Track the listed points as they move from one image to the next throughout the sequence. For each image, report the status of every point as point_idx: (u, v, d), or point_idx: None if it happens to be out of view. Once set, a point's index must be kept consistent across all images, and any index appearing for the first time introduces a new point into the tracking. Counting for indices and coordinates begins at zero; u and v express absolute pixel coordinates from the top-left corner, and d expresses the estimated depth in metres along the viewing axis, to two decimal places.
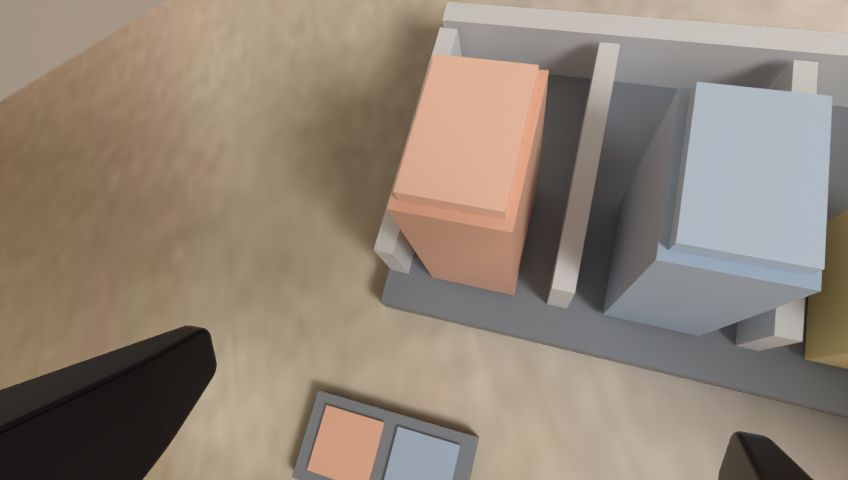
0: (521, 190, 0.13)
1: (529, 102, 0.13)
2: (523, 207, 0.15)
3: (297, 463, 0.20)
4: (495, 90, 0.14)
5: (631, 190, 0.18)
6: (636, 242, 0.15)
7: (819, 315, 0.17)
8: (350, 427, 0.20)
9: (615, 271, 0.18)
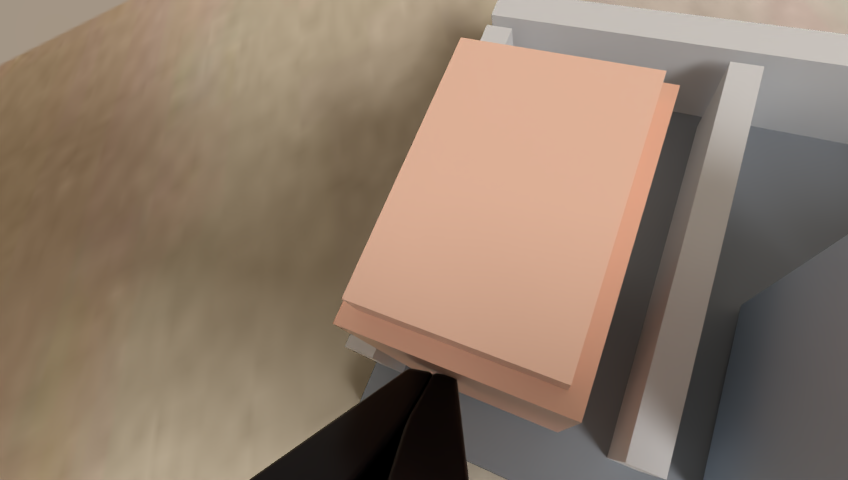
0: None
1: (642, 144, 0.06)
2: None
3: None
4: (572, 112, 0.07)
5: (773, 305, 0.11)
6: (813, 435, 0.08)
7: None
8: None
9: (734, 438, 0.11)
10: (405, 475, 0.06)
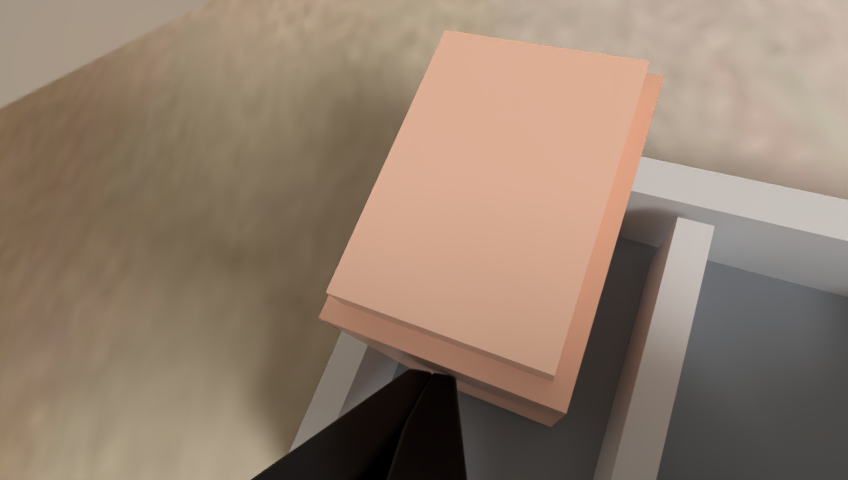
0: (593, 318, 0.06)
1: (625, 134, 0.06)
2: None
3: None
4: (556, 104, 0.07)
5: None
6: None
7: None
8: None
9: None
10: (404, 475, 0.06)
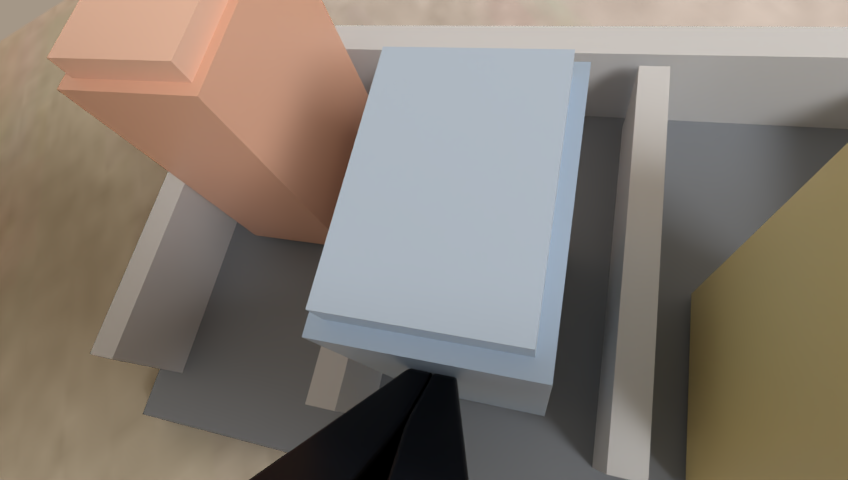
0: (221, 47, 0.10)
1: None
2: (274, 97, 0.12)
3: None
4: None
5: None
6: None
7: (696, 424, 0.12)
8: None
9: None
10: (405, 475, 0.06)
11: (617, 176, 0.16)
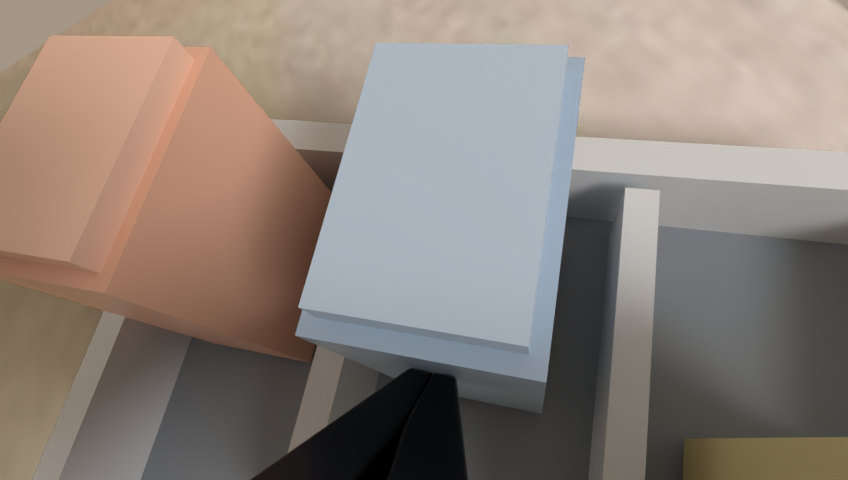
0: (136, 225, 0.08)
1: (149, 90, 0.09)
2: (212, 248, 0.10)
3: None
4: (110, 77, 0.09)
5: None
6: None
7: None
8: None
9: None
10: (404, 475, 0.06)
11: (604, 290, 0.14)
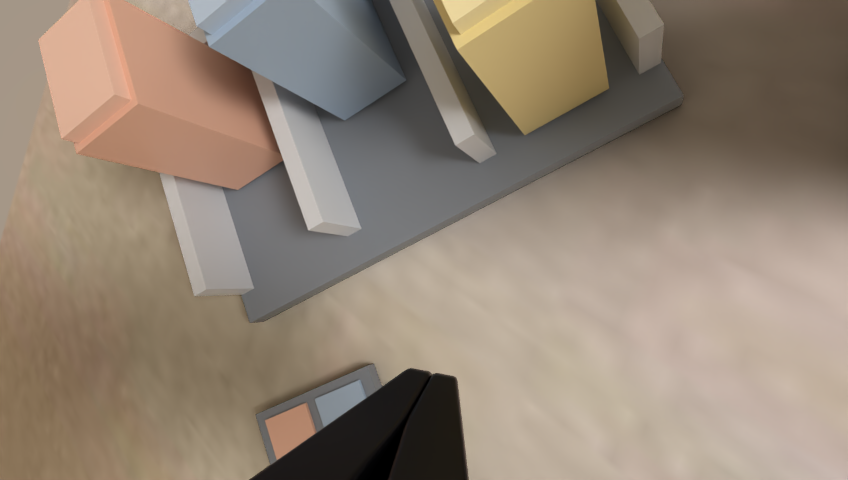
0: (131, 75, 0.17)
1: (94, 19, 0.17)
2: (177, 87, 0.19)
3: None
4: (75, 29, 0.18)
5: None
6: None
7: None
8: (287, 423, 0.24)
9: None
10: (405, 475, 0.06)
11: None
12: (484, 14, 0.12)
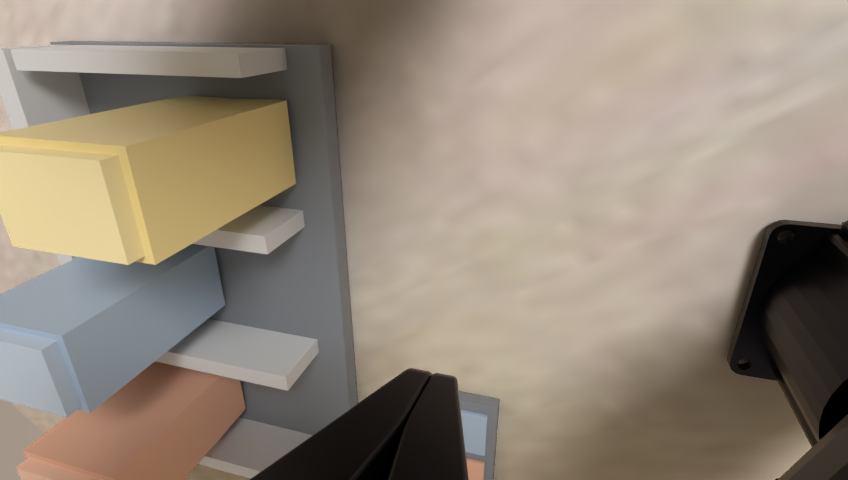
0: (91, 470, 0.20)
1: (37, 474, 0.21)
2: (124, 433, 0.22)
3: None
4: None
5: None
6: None
7: None
8: None
9: None
10: (405, 475, 0.06)
11: None
12: (136, 232, 0.14)
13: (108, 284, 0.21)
